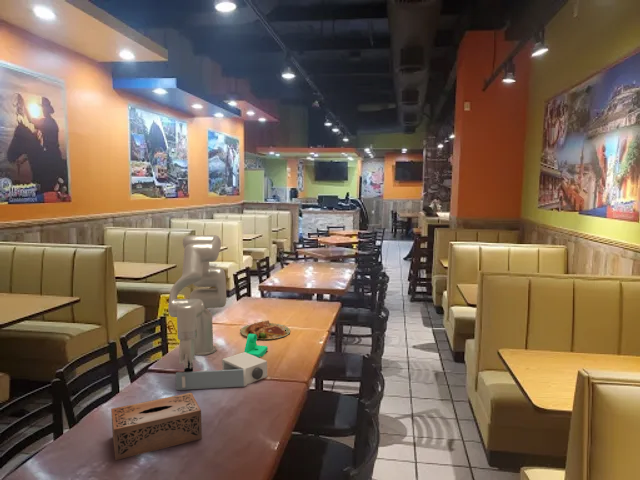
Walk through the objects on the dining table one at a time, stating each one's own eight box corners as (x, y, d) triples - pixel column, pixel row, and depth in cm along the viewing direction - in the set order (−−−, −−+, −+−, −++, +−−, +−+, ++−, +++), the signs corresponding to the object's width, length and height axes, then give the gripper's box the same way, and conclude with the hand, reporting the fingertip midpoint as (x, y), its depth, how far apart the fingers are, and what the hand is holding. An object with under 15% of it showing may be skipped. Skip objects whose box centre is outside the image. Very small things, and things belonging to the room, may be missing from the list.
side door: (175, 391, 182) (175, 374, 181) (176, 388, 184) (176, 372, 183) (245, 387, 185) (245, 370, 184) (246, 385, 187) (245, 368, 187)
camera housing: (222, 374, 199) (222, 359, 198) (244, 366, 207) (244, 351, 207) (247, 386, 187) (247, 370, 186) (269, 377, 195) (269, 362, 195)
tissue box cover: (115, 461, 136) (113, 429, 135) (112, 437, 149) (111, 408, 148) (201, 439, 148) (200, 410, 147) (192, 419, 161) (191, 392, 160)
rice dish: (299, 332, 260) (299, 323, 260) (269, 344, 237) (269, 334, 236) (261, 324, 275) (261, 316, 275) (229, 335, 252) (229, 325, 251)
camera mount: (258, 360, 216) (258, 339, 215) (244, 358, 218) (243, 337, 217) (268, 351, 227) (268, 331, 226) (254, 349, 229) (253, 330, 228)
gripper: (181, 328, 191) (182, 370, 193) (174, 340, 176) (175, 385, 178) (199, 327, 192) (200, 369, 194) (193, 339, 177) (195, 384, 179)
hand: (188, 377), depth 186 cm, fingers closed
